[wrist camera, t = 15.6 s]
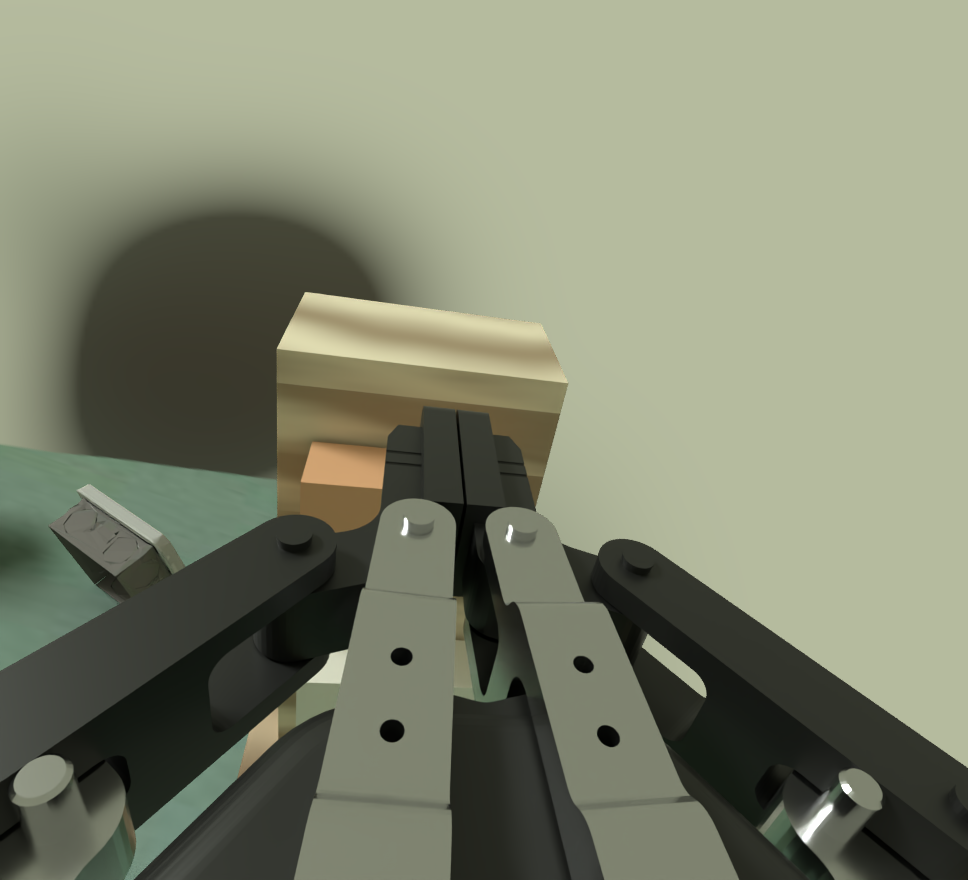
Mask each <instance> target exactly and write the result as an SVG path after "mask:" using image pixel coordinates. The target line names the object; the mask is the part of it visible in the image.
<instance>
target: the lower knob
mask: <svg viewBox="0 0 968 880" xmlns="http://www.w3.org/2000/svg"><path fill="white" fill-rule="evenodd" d="M347 652H348V649H347V650H343V651H339V652H335V653H330V655H329V659H328V661H327V663H326V664H325V666H324V667H323V668H322V669H321V670H320V671H319V672H318V673H317V674H316V675H315V676H314V677H312V678H311V679H310V680H309V681H308V682H307V683H305V684H304V685H303V686H302V687H301V688H300V689H299V690H297V691H296V726H298V725H300V724H301V723H303V722H305V721H306V720H308V719H310V718H312V717H314V716H316V715H318V714H321V713H323V712H325V711H328V710H331V709H334V708H335V706H336V702H337V697H338V693H339V688H340V684H341V679H342V675H343V670H344V666H345V661H346V657H347ZM453 695H456V696H460V697H463V698H467V699H471V700H474V694H473V688H472V682H471V676H470V670H469V663H468V657H467V651H466V645H465V641H462V640H455V667H454V693H453Z"/></svg>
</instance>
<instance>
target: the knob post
mask: <svg viewBox="0 0 968 880" xmlns="http://www.w3.org/2000/svg"><path fill="white" fill-rule="evenodd" d="M567 386H568V381H567V379H566V377H565V375H564V373H563V371H562V368H561V366H560V364H559V362H558V360H557V357H556V355H555V353H554V351H553V349H552V347H551V344H550V342H549V340H548V338H547V336H546V333H545V331H544V329H543V327H542V325H541V324H539V323H532V322H525V321H517V320H510V319H502V318H495V317H487V316H480V315H472V314H465V313H457V312H450V311H442V310H434V309H427V308H420V307H412V306H405V305H397V304H390V303H381V302H375V301H367V300H359V299H352V298H345V297H337V296H329V295H322V294H314V293H307V292H305V294H304V296H303V298H302V300H301V302H300V304H299V306H298V308H297V310H296V312H295V314H294V316H293V318H292V320H291V322H290V324H289V326H288V328H287V330H286V332H285V334H284V336H283V338H282V340H281V342H280V344H279V346H278V348H277V517H280V516H285V515H300V488H301V479H302V476H303V472H304V469H305V465H306V462H307V458H308V455H309V451H310V448H311V444H312V441H314V442H324V443H335V444H345V445H356V446H366V447H377V448H387V439H388V435H389V434H390V433H391V432H392V431H393V430H394V429H395V428H396V427H397V426H398V425H406V426H416V427H420V423H421V415H422V409H423V406H430V407H439V408H448V409H455V412H456V411H457V410H466V411H475V412H484V413H489V417H490V422H491V427H492V433H493V435H502V436H509V437H510V438H511V439H512V440H513V441H514V442H515V444H516V445H517V446H518V447H519V448H520V449H521V452H522V456H523V460H524V466H525V468H526V472H527V478H528V480H529V484H530V488H531V492H532V496H533V500H534V504H535V506H536V503H537V499H538V495H539V491H540V488H541V484H542V480H543V476H544V473H545V469H546V465H547V461H548V458H549V454H550V450H551V446H552V442H553V439H554V435H555V431H556V428H557V423H558V420H559V416H560V412H561V409H562V405H563V401H564V397H565V394H566V390H567ZM453 598H456V601H457V614H456V640H462V641H465V639H464V633H463V624H464V619H465V612H464V603H463V597H456V596H453ZM295 727H296V692H295V693H294V694H293V695H292V696H290V697H289V698H288V699H287V700H286V701H285V702H283V703H282V704H281V705H280V706H279V707H278V708H276V709H275V710H274V711H273V712H272V713H271V714H270V715H268V716H267V717H266V718H265V719H264V720H263V721H261V722H260V723H259V724H258V725H257V726H256V727H254V728H253V729H252V730H251V731H250V732H249V735H248V739H247V743H246V747H245V751H244V754H243V758H242V762H241V766H240V770H239V774H238V778H239V777H240V776H241V775H242V774H243V773H244V772H245V771H246V770H247V769H248V768H249V767H250V766H251V765H252V764H253V763H254V762H255V761H256V760H257V759H258V758H259V757H260V756H261V755H262V754H263V753H264V752H265V751H266V750H267V749H268V748H269V747H271V746H272V745H273V744H274V743H275V742H276V741H277V740H278V739H280V738H281V737H282V736H284V735H285V734H286V733H288V732H289V731H290V730H292V729H293V728H295ZM238 778H237V779H238Z"/></svg>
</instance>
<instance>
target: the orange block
mask: <svg viewBox="0 0 968 880" xmlns="http://www.w3.org/2000/svg"><path fill="white" fill-rule="evenodd" d="M385 458H386V448H377V447H366V446H356V445H345V444H335V443H324V442H314V441H312V444H311V448H310V451H309V455H308V458H307V462H306V465H305V469H304V472H303V476H302V479H301V488H300V515H308V516H312V517H315V518H318V519H320V520H322V521H324V522H326V523H327V524H328V525H330V526H331V527H332V529H333V530H334V532H335V533H337V532H344V531H349V530H354V529H357V528H360V527H362V526H364V525H366V524H368V523H369V522H371V521H372V520H373V519H374V518H375V517H376V516H377V515H378V513H379V511H380V507H381V496H382V486H383V477H384V467H385Z"/></svg>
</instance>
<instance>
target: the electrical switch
mask: <svg viewBox="0 0 968 880" xmlns="http://www.w3.org/2000/svg"><path fill="white" fill-rule="evenodd" d="M77 492H78V494H79V496H80V497H81V498H82V500H81V501H80V502H79V503H78V504H77V505H75V506H74V507H72V508H70V509H69V510H68V511H67V513H66V514H65V515H63V516H62V517H60V518H59V519H57V520H56V521H54V522H53V523H51V524H50V525H48V526H49V528H50V529H51V530H52V531H53V533H54V534H55V535H56V536H57V538H58V539H59V540H60V541H61V543H62V544H63V545H64V546H65V548H66V549H67V550H68V551H69V553H70V554H71V555H72V556H73V558H74V559H75V560H76V561H77V563H78V564H79V565H80V567H81V568H82V569H83V570H84V572H85V573H86V574H87V575H88V577H89V578H90V579H91V580H92V582H93V583H94V584H96V583H97V582H99V581H100V580H101V579H102V580H101V581H100V582H99V583H98V584H96V585H97V586H98V587H100V588H101V589H102V590H104V591H105V592H106V593H107V594H109V595H110V596H111V597H113V598H114V599H115V600H116V601H118V602H119V603H120V604H121V603H122V602H124V601H126V600H128V599H130V598H131V597H133V596H135V595H137V594H138V593H140V592H142V591H144V590H146V589H147V588H149V587H151V586H153V585H155V584H156V583H158V582H160V581H162V580H163V579H165V578H167V577H169V576H171V575H172V574H174V573H176V572H178V571H179V570H181V569H183V568H185V565H184V564H183V562H182V560H181V559H180V557H179V555H178V554H177V552H176V550H175V549H174V547H173V546H172V544H171V542H170V541H169V540H168V539H167V538H166V537H165V536H164V535H163V534H162V533H160V532H159V531H157V530H156V529H154V528H153V527H152V526H150V525H149V524H147V523H146V522H144V521H143V520H141V519H140V518H138V517H137V516H135V515H134V514H133V513H131V512H130V511H128V510H127V509H125V508H124V507H122V506H121V505H119V504H118V503H116V502H115V501H113V500H112V499H111V498H109V497H108V496H106V495H105V494H103V493H102V492H100V491H99V490H97V489H96V488H94V487H93V486H92V485H90V484H88V485H86V486H84V487H82V488H81V489H79V490H77ZM105 576H106V577H105ZM104 577H105V578H104ZM103 578H104V579H103ZM112 583H113V584H112ZM116 593H117V594H116Z"/></svg>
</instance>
